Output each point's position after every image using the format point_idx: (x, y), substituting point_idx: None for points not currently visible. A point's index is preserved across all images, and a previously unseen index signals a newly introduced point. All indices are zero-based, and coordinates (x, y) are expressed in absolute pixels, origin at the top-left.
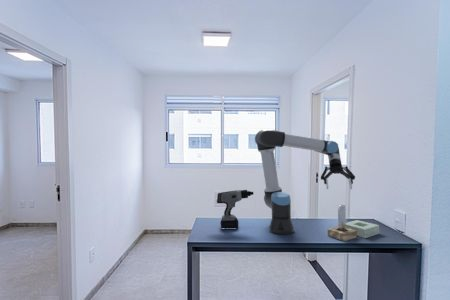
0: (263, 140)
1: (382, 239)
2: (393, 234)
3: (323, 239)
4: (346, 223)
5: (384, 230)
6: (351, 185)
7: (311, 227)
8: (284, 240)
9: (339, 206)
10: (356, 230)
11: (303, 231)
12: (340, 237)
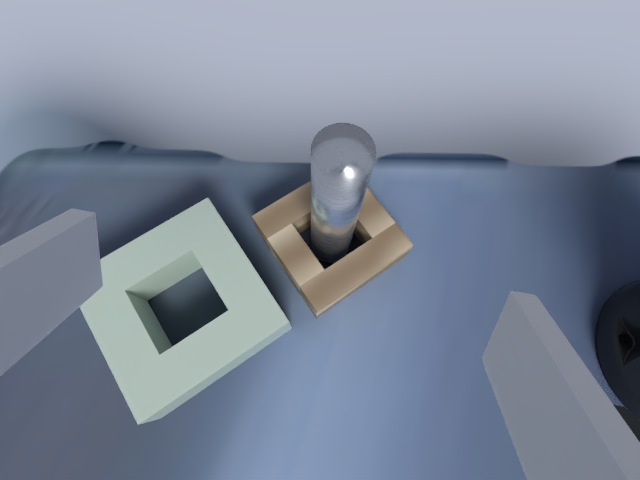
0: None
1: (139, 201)
2: None
3: (439, 205)
4: (263, 326)
5: None
6: (59, 222)
7: (475, 431)
8: (634, 194)
9: (368, 135)
10: (252, 216)
11: None
12: None
